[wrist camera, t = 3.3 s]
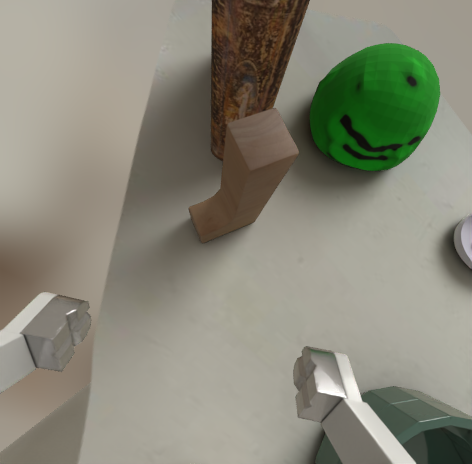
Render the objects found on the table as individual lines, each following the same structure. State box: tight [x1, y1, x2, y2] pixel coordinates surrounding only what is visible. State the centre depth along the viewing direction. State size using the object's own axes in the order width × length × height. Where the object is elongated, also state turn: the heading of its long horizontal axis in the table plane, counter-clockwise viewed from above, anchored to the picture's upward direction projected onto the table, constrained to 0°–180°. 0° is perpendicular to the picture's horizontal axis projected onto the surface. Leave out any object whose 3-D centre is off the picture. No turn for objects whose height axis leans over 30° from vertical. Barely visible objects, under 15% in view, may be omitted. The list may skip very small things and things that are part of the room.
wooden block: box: [189, 108, 299, 243], centre depth 21 cm, size 7×3×15 cm, turn 114°
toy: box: [310, 43, 440, 171], centre depth 28 cm, size 14×13×10 cm
